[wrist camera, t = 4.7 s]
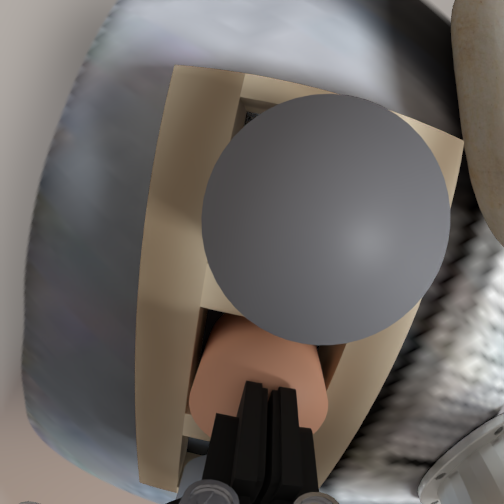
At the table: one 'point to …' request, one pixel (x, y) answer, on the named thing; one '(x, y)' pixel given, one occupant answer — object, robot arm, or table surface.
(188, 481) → the slate button
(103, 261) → the table surface
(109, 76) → the table surface
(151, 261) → the birch board
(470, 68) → the stone
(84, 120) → the table surface
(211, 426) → the terracotta button
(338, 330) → the charcoal button
